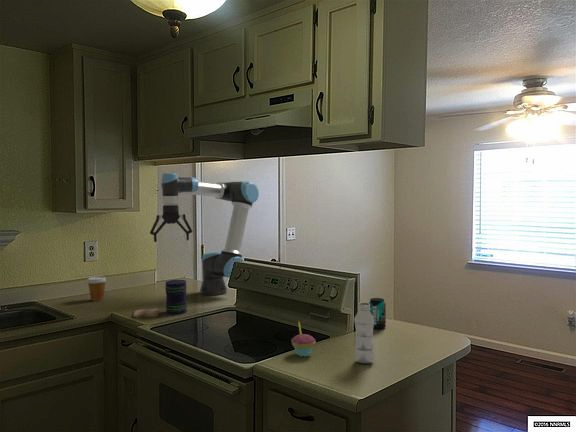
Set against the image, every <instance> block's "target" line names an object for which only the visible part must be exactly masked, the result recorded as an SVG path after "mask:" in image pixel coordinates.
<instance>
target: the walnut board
mask: <svg viewBox="0 0 576 432" xmlns="http://www.w3.org/2000/svg"><path fill="white" fill-rule="evenodd" d="M159 312H160V308H145V309H135V310H134V312H133V316H132V317H136V318H149V317H150V318H151V317H158V316H159Z"/></svg>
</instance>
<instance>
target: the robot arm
mask: <svg viewBox="0 0 576 432" xmlns="http://www.w3.org/2000/svg"><path fill="white" fill-rule="evenodd" d="M160 183H161V184H160V187H161V190H162V192H161V193H162V194H161V195H162V204H163V206H162V215H161V214H157V215H156V217H155V221H154V223H153V225H152V227H151V229H150V232H149V234H150V235H152V236H153V242H154V243H156V249H157V250H158V249H159V235H158V234H159V233H160V231H161V230H162V229H163V227H164V226H165V225H166V224H168V225H171V224H173V225H174V224H177V225H178V226H179V227H180V228H181V229H182V231H183V232H185V233H184V234H183V237H184V248H188V245H187V244H188V242H187V241H189V240H190V234H191V233H192V234H193V229H192V228H191V226H190V223H189V222H188V220H187V219H186V214H184V213H183V214H180V213H179V212H180V211H179V210H180V209H179V207H180V206H179V194H185V195H186V194H187V195H193V196H204V197H205V196H206V197H213V198H215V199H217V200H223V201H227V202H231V205H232V206H233V208H232V212H231V217H230V220H229V227H228V232H227V237H226V242H225V246H224V248H223V249H222V250H221V251H214V252H213V251H212V252H207V253H206V252H205V253H203V254H202V260H201V263H202V264H201V265H202V282H201V285H200V289H199V294H200V295H203V296H220V295H224V294H227V293H228V290H227V289H228V288H227V285H226V282H225V279H224V278H230V275H231V271H232V268H233V264H234V262H237V261H243V262H244V259H243V258H242V257H243V254H242V251H241V248H242V243H243V239H244V234H245V230H246V229H245V228H246V224H247V219H248V214H249V210H250V209H252V208H253V205H254V203H255V202H256V201H257V200H258V198H259V196H260V195H259V194H260V193H259V188H258V186H257V185H256V183H254V182H252V181H247V180H245V181H228V182H221V181H217V182H216V183H214V182H207V181H200V180H198V179H197V178H196V177H192V176H190V177H189V176H184V177H181V176H180V177H179V175H178V173H176V172H171V173H170V172H165V173H163V174H162V175H161V182H160ZM161 219H163V221H162V222H161V224H160V225H159V226H158V227H157V225H158V223H159V222H160V220H161ZM180 219H181V220H182V221H183V222H184V224H185V225H186V228H187V229H186V228H185V227H184V226H183V224H182V223H181V222H180ZM155 229H156V230H155Z"/></svg>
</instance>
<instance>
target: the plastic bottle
mask: <svg viewBox="0 0 576 432" xmlns="http://www.w3.org/2000/svg"><path fill="white" fill-rule="evenodd" d="M369 310H370V304H369V302H368V303H367V302H361V303H360V302H359V303H358V312H357V313H356V315H354V327H355V335H356V336H355V337H356V341H355V342H356V343H355V350H354V358H355V360H356V362H357V363H360V364H367V365H368V364H372V363H373V362H375V361H374V360H375V356H376V355H375V349H374V343H373V338H374V337H373V335H374V329H373V326H374V318H373V316H372V314H371V313H370V311H369Z"/></svg>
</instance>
